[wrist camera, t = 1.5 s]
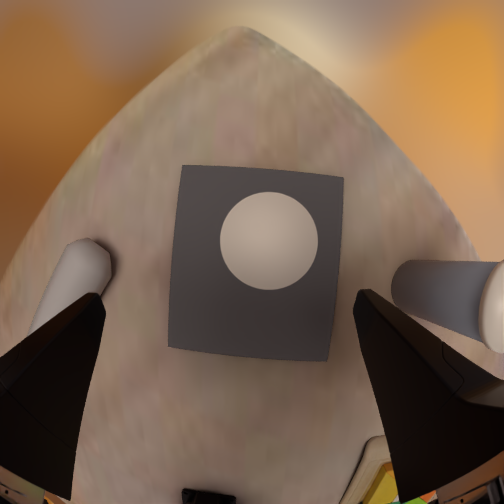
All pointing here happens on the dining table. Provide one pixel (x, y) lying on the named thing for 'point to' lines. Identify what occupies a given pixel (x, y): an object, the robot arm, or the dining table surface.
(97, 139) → the dining table surface
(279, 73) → the dining table surface
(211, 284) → the mat
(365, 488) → the wooden puzzle
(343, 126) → the dining table surface
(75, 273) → the tube
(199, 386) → the dining table surface
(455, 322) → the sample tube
